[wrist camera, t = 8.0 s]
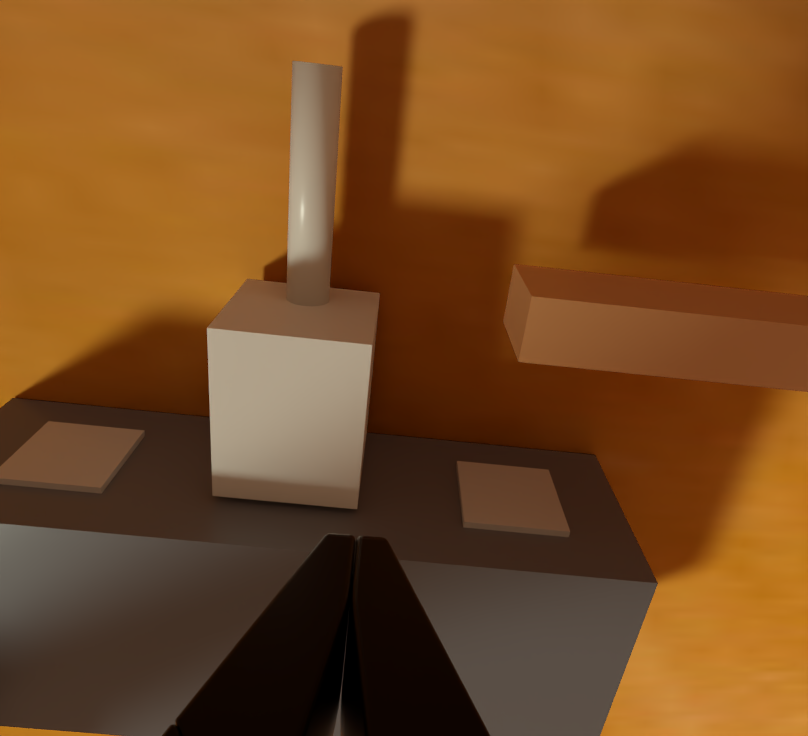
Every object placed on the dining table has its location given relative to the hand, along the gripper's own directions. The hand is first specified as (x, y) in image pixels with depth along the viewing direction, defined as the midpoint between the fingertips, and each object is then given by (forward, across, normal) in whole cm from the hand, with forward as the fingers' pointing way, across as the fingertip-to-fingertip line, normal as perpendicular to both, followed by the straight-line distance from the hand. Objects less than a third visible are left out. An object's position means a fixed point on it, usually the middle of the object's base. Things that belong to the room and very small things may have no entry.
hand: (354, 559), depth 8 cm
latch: (+9, -7, -1) cm, 12 cm away
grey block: (+12, +2, +9) cm, 15 cm away
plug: (+11, +2, -1) cm, 11 cm away
